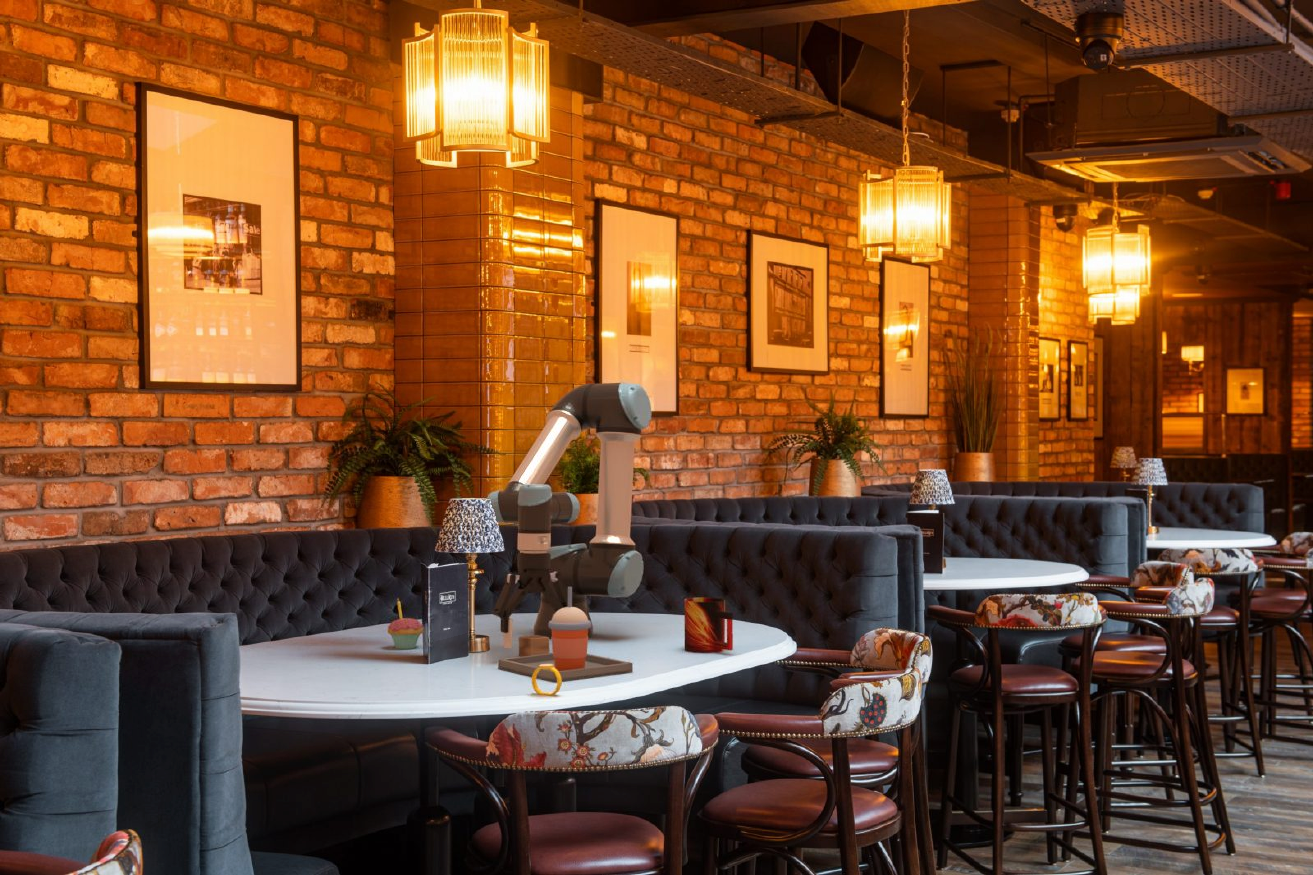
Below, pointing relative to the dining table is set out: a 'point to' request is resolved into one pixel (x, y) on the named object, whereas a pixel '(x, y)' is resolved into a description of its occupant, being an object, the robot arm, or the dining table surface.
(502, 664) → the tray
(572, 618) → the cup with straw
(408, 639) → the cupcake
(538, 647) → the walnut block
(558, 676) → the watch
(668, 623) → the dining table surface
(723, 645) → the mug
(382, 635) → the dining table surface
